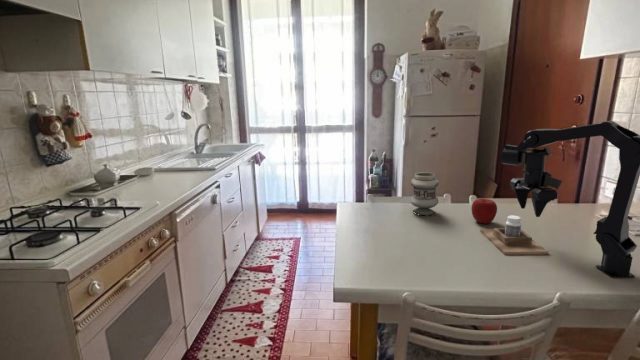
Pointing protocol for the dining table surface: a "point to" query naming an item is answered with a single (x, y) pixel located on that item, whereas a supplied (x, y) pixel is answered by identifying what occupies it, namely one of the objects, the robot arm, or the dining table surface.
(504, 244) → the wooden tray with holder
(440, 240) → the dining table surface
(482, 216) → the apple
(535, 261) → the dining table surface
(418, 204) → the apothecary jar
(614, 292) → the dining table surface
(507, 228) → the pill bottle
